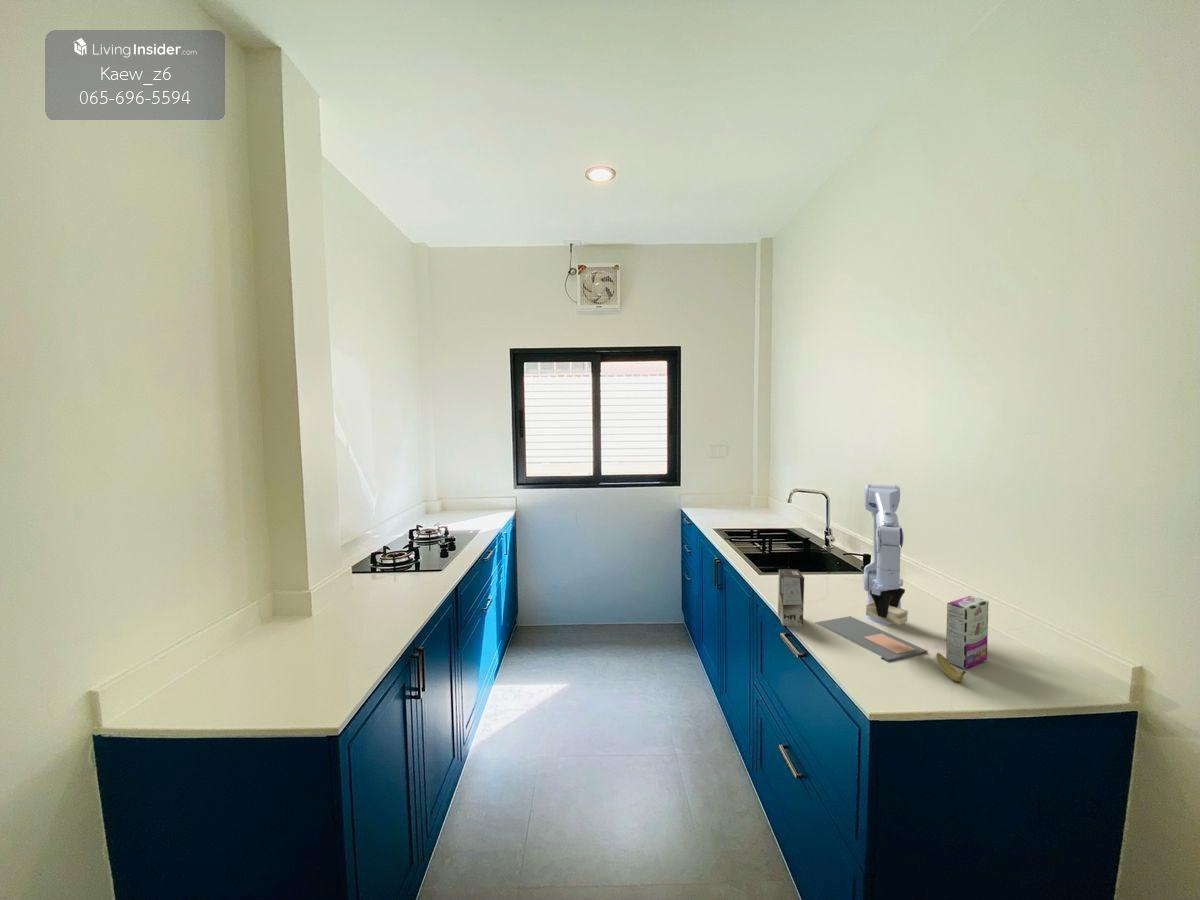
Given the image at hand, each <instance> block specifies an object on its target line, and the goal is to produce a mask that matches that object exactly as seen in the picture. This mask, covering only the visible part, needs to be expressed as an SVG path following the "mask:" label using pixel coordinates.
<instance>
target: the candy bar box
mask: <svg viewBox="0 0 1200 900" xmlns="http://www.w3.org/2000/svg"><path fill="white" fill-rule="evenodd" d="M946 604H947V605H946V606H947V608H946V609H947V610H946V631H947V641H946V653H945V654H946V656H945V658H946V659H947V661H948V662H949V663H950V665H951V666H956V667H958V668H961V669H963V670H967V669H970V668H973V667H974V666H977V665H980V663H983V662H985V661H988V636H989V635H988V634H989V632H988V631H989V630H988V629H989V600H986V599H983V598H981V597H975V596H972V595H968V596H965V597H961V598H959V599H955V600H952V601H949V602H947V603H946Z"/></svg>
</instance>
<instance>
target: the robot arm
mask: <svg viewBox="0 0 1200 900" xmlns="http://www.w3.org/2000/svg"><path fill="white" fill-rule="evenodd" d="M900 501H901V488H900V486H899V485H898V484H897V485H896V484H895V485H890V484H886V485H884V484H869V483H866V484H865V485H864V507H865V510H866V511H868V512H870V513H871V516H872V531H873V533H872V535H873V536H872V541H873V542H872V545H873V546H872V548H873V549H872V552H873V553H872V555H873V556H872V557H873V559H872V560H873V561H872V562H870V563H869V564H867V565H865V566H864V568H863V574H862V575H863V577H862V578H863V579H862V583H863V584H862V586H863V590H864V591H865V592H866V593H867V604H870V603H872V602H874V603H875V606H876V610H877V614H878V616H880V617H883V618H886V617H887V614H888V608H889V606H893V607H896V608H900V609H902V602H901V599H902V597H903V595H904V594H905V592H906V590H905V589H904V588H902V587H904V579H902V578H901V577H900V576H901V550H902V549H901V548H903V545H904V531H903V527H902V526H901V525H899V517H898V515H897V513H896V512H897V511H898V509H899V504H900ZM867 604H866V605H867ZM860 617H861V618H863V619H865V620H868V621H870V622H872V623H874V624H876V625H879V626H887V625H891V624H894V623H890V622H887V621H884V620H881V619H878V618H874V617H871V616H868V615H866V614H865V615H861V616H860Z"/></svg>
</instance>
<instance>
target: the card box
mask: <svg viewBox="0 0 1200 900" xmlns="http://www.w3.org/2000/svg"><path fill="white" fill-rule="evenodd" d="M865 607H866V608H865V609H866V611H865V615H868V616H871V617H874V618H878V619H881V620H884V621H887V622H890V623H893V624H894V625H897V626H900V625H903V624H905V623H907V622H908V614H909V613H908V610H907V609H903V608H901V609H900V608H896V607H893V606H889V608H888V614H887V617H886V618H883V617H880V616H878V614H877V610H876V606H875V603H874V602H872V603H870V604H866V606H865Z"/></svg>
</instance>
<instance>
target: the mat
mask: <svg viewBox="0 0 1200 900" xmlns="http://www.w3.org/2000/svg"><path fill="white" fill-rule="evenodd" d="M814 624H816V625H818V626H821V627H822V628H824V629H826V630H828V631H830V632H832V633H834V634H836V635H838V636H840V637H842V638H844V639H845V640H848V641H850V642H852V643H854V644H856V645H858V646H859V647H861V648H864V649H865V650H868V651H870V652H871V653H874V654H876V655H878V656H879V657H880V659H881V660H883V661H885V662H887V663H888V662H892V661H897V660H901V659H906V658H911V657H913V656H914V657H916V656H919V655H924V654H927V653H928V650H927V649H924V648H923V647H920V646H918V645H917V644H913V643H911V642H910V641H907V640H904V639H903V638H900V637H898V636H896V635H893V634H892V633H889V632H887V631H885V630H882V629H880V628H878V627H876V626H873V625H871V624H869V623H868V622H864V621H862V620H860V619H858V618H855V617H853V616H852V615H850V616H849V615H848V616H843V617H838V618H837V617H836V618H833V619H827V620H821V621H815V622H814Z"/></svg>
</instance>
